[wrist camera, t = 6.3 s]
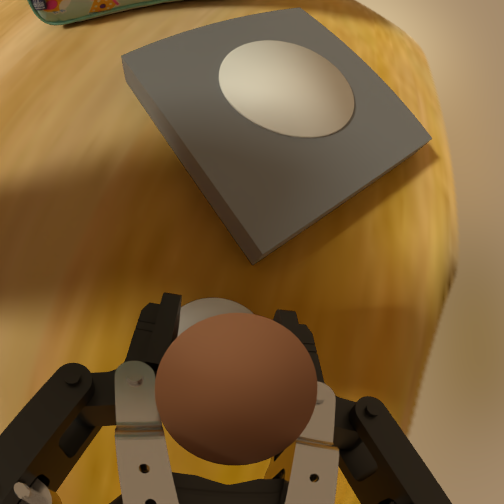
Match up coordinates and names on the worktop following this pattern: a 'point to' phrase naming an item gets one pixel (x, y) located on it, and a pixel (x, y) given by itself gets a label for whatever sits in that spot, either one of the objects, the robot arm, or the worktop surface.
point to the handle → (234, 384)
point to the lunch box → (83, 9)
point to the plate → (272, 120)
